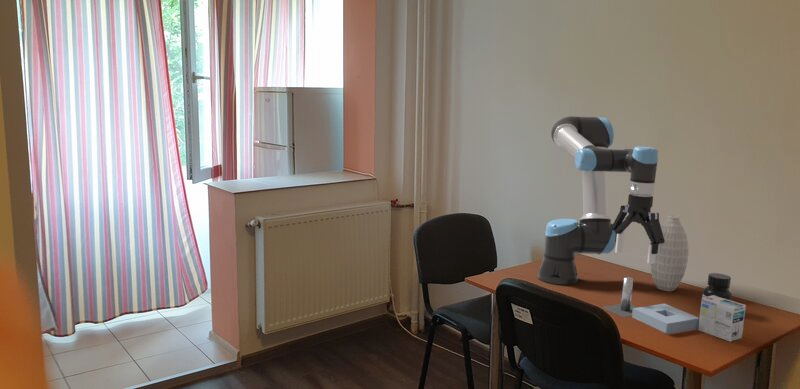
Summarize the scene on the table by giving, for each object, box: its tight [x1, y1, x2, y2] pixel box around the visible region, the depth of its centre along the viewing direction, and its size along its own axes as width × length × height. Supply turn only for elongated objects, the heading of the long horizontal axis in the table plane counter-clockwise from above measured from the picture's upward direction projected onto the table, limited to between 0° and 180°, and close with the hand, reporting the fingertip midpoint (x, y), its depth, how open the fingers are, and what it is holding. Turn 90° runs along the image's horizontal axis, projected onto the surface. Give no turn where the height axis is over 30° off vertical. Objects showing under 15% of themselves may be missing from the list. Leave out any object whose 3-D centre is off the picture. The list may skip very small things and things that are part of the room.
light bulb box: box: [697, 295, 747, 342], centre depth 190 cm, size 11×7×11 cm, turn 33°
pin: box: [620, 276, 634, 311], centre depth 208 cm, size 3×3×11 cm
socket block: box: [631, 303, 699, 335], centre depth 198 cm, size 14×14×4 cm
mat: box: [601, 303, 638, 318], centre depth 209 cm, size 10×12×1 cm
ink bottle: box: [701, 272, 733, 301], centre depth 213 cm, size 10×9×12 cm
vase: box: [650, 214, 689, 292], centre depth 232 cm, size 13×13×28 cm
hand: (634, 257), depth 205 cm, fingers open, 13 cm apart
